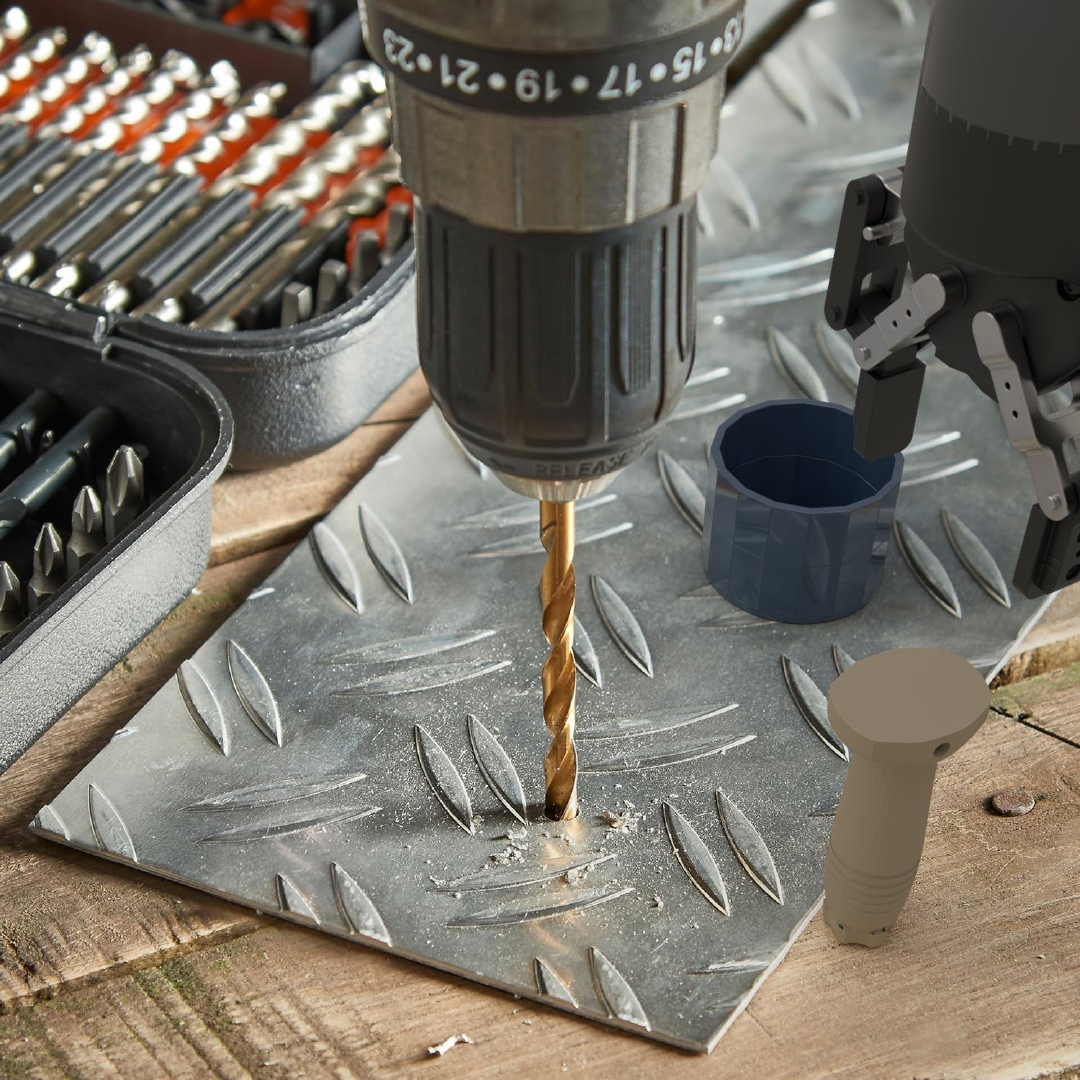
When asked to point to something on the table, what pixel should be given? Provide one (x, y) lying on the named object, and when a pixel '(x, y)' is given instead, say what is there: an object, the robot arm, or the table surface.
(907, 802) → the handle
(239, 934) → the table surface
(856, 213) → the robot arm
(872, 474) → the pot
